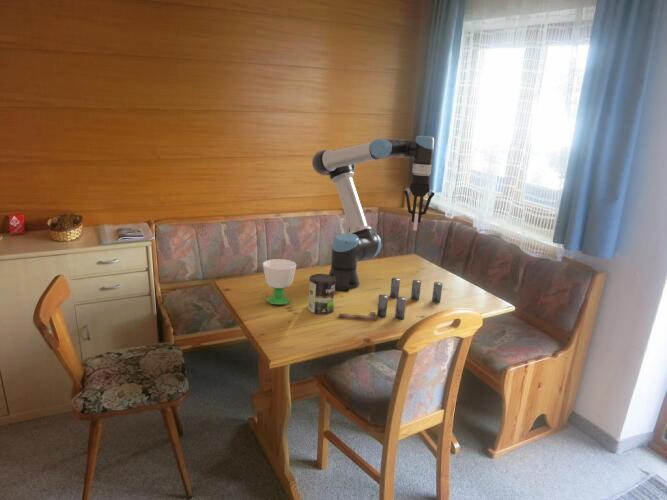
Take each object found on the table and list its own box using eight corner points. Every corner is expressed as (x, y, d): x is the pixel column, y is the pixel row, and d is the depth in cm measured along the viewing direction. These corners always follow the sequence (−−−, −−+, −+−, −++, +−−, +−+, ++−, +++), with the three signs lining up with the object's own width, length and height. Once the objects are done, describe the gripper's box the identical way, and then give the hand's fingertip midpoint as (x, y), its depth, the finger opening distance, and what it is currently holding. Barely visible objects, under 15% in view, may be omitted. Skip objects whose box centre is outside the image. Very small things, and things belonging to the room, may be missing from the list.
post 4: (410, 301, 209) (412, 282, 206) (410, 298, 212) (412, 279, 210) (418, 302, 208) (421, 282, 206) (418, 299, 212) (421, 280, 209)
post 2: (389, 299, 210) (391, 279, 208) (389, 296, 213) (391, 277, 211) (397, 300, 209) (400, 280, 207) (398, 297, 213) (400, 278, 210)
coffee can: (338, 310, 194) (340, 277, 190) (324, 318, 186) (326, 284, 182) (317, 304, 199) (319, 271, 195) (302, 312, 191) (304, 278, 187)
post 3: (394, 321, 188) (396, 299, 185) (394, 317, 191) (397, 296, 189) (403, 322, 187) (406, 300, 185) (404, 318, 191) (406, 297, 188)
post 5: (431, 304, 207) (434, 284, 205) (431, 301, 211) (433, 281, 208) (440, 305, 207) (442, 285, 205) (439, 302, 210) (442, 282, 208)
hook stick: (338, 320, 185) (339, 315, 185) (339, 314, 191) (339, 309, 190) (375, 323, 185) (375, 318, 184) (374, 316, 190) (375, 312, 190)
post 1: (376, 318, 189) (378, 297, 186) (377, 315, 192) (379, 294, 190) (385, 320, 188) (387, 298, 186) (386, 316, 191) (388, 295, 189)
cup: (281, 292, 210) (282, 257, 206) (301, 301, 201) (303, 265, 196) (254, 299, 201) (255, 262, 196) (275, 309, 191) (276, 271, 187)
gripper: (405, 173, 198) (399, 230, 204) (437, 176, 196) (430, 233, 202) (405, 172, 205) (400, 226, 211) (436, 174, 203) (430, 229, 209)
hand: (415, 229), depth 207 cm, fingers closed
